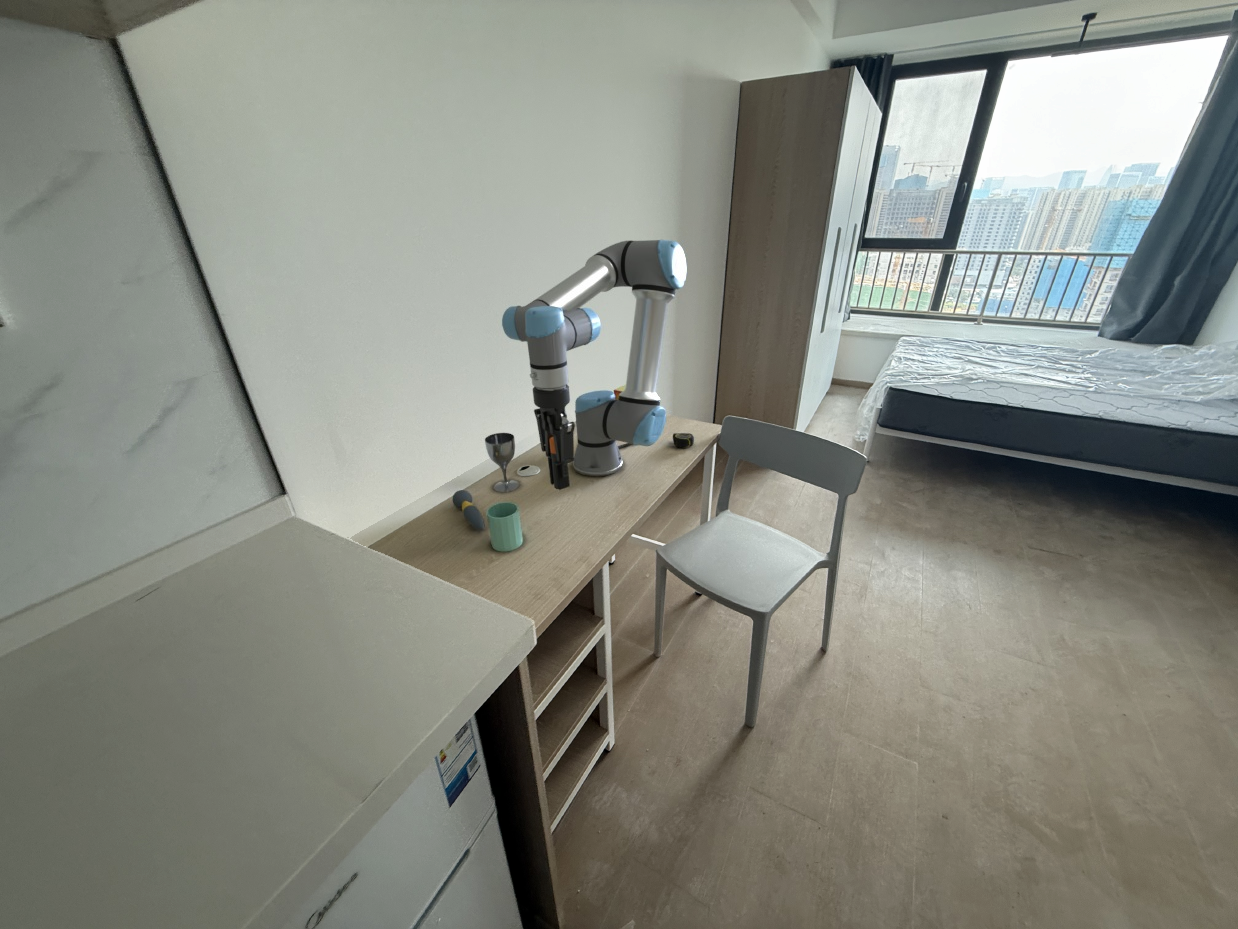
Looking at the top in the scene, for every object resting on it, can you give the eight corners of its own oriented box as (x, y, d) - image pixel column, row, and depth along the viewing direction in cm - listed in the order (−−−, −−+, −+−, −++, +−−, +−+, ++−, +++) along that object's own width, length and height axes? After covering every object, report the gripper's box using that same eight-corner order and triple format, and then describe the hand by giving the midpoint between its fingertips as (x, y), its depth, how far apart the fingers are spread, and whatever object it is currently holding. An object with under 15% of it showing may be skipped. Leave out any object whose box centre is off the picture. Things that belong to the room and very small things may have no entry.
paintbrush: (497, 528, 120) (494, 511, 118) (478, 535, 117) (474, 518, 115) (466, 497, 134) (463, 482, 132) (448, 503, 131) (445, 487, 129)
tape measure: (692, 441, 165) (693, 431, 163) (694, 450, 159) (694, 439, 157) (672, 441, 165) (672, 431, 164) (673, 450, 159) (673, 439, 158)
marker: (562, 482, 112) (557, 435, 107) (568, 487, 110) (564, 439, 105) (552, 486, 111) (547, 438, 106) (558, 491, 109) (553, 442, 104)
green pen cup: (514, 530, 119) (510, 498, 115) (528, 543, 114) (524, 511, 110) (486, 541, 115) (481, 508, 111) (499, 555, 110) (494, 522, 106)
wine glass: (525, 482, 141) (519, 435, 135) (509, 495, 135) (502, 445, 128) (503, 477, 144) (496, 431, 138) (486, 489, 138) (478, 441, 131)
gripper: (517, 380, 104) (529, 477, 114) (554, 398, 92) (563, 504, 103) (547, 374, 108) (556, 468, 118) (586, 390, 96) (592, 492, 107)
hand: (560, 484), depth 111 cm, fingers closed on marker, 2 cm apart
